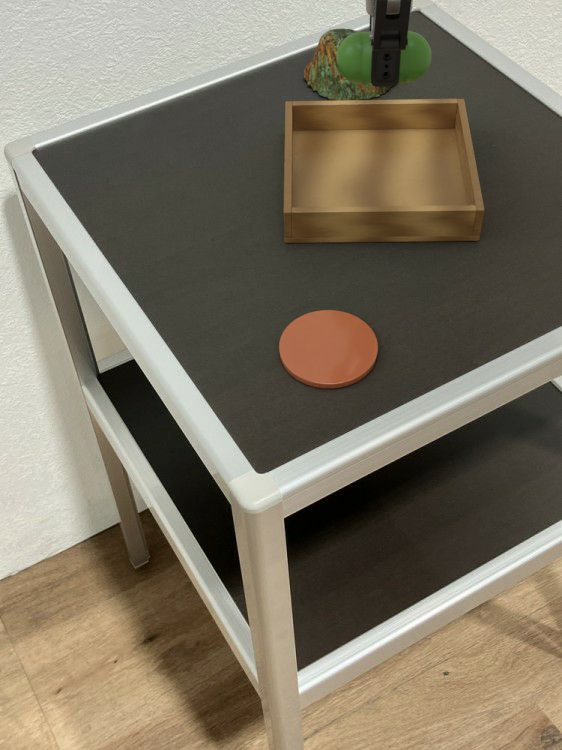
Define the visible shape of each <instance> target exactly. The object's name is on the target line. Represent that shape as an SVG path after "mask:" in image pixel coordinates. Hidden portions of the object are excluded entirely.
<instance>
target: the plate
mask: <svg viewBox="0 0 562 750" xmlns="http://www.w3.org/2000/svg"><path fill="white" fill-rule="evenodd" d="M278 344H279V345H278V355H279V359H280V362H281V364H282V366H283V367H284V370H286V372H287V373H288V374H289V375H290V376H291V377H292V378H294V379H295V380H296V381H298V382H300V383H302V384H304V385H307V386H309V387H313V388H318V389H329V390H330V389H331V390H332V389H339V388H344V387H348V386H351V385H353V384H356V383H357V382H359V381H361V380H362V379H364V378H365V377H366V376H367V375H369V374H370V373H371V371H372V369H373V368H374V366H375V365H376V363H377V360H378V354H379V343H378V339H377V336H376V333H375V332H374V330H372V327H370V325H369V324H367V322H365V321H364V320H362V319H361V318H359V317H358V316H356V315H354V314H352V313H349V312H345V311H341V310H335V309H320V310H314V311H310V312H308V313H305V314H303V315H300V316H298V317H297V318H295V319H293V321H292V322H290V323H288V325H287V326H286V327H285V329H284V330H283V331H282V334H281V336H280V337H279V342H278Z"/></svg>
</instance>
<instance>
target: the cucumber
mask: <svg viewBox="0 0 562 750" xmlns="http://www.w3.org/2000/svg"><path fill="white" fill-rule="evenodd" d="M370 34H371V32H369V31H357V32H356V33H353V34H351V35H349V36H347V37H346V38H345V39H344V40H343V41H342V43H341V44H340V46H339V48H338V51H337V57H336V60H337V66H338V69H339V71H340V73H341V74H342V75H343V77H345V78H346V79H347V80H348V81H350V82H353V83H356V84H372V83H371V59H372V46H371V41H370ZM407 38H408V45H406V50H401V59H400V74H399V83H398V84H411V83H414V82H416V81H418V80H420V79H421V78H423V77H424V75H425V74H426V73H427V71H428V70H429V68H430V66H431V63H432V50H431V46H430V45H429V43H428V41H427V40H426V38H425V37H424V36H423V35H421V34H420V33H417V32H414V31H412V30H408V34H407Z"/></svg>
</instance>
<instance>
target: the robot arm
mask: <svg viewBox="0 0 562 750" xmlns="http://www.w3.org/2000/svg"><path fill="white" fill-rule="evenodd" d="M413 4H414V3H413V0H365V10H366V13H367V14H368V15H369V24H368V25H369V27H368V29H369V30H368V32H371V34H370V41H371V46H372V59H371V83H372V85H373V86H375V87H391V88H392V86H393V87H396V86H397V85H399V84H400V83H399V74H400V59H401V50H406V45H408V38H407V34H408V31H409V24H410V17H411V13H412V11H413Z"/></svg>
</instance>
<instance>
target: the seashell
mask: <svg viewBox="0 0 562 750" xmlns="http://www.w3.org/2000/svg"><path fill="white" fill-rule="evenodd" d="M356 32H358V31H357V30H355V29H351V28H334V29H333V28H332V29H329V30H328V31H325V32H324V33H323V34H322V35H321V36H320V38H319V39H318V42H317V43H318V44H317V47H316V49H315V52H314V54H313V56H312V58H311V60H309V62H308V63H307V64H306V66H305V67H304V70H303V79H304V80H305V81H306V82H307V86H309V87H311V88H312V91H316V92H317V93H318V95H319V96H321V97H324V98H327V99H328V101H340V100H372V98H378V97H380V96H381V95H384V94H386V93H387V92H388V91H389V90H391V88H392V87H394V86H392V87H375V86H373V85H372V84H356V83H353V82H350V81H348V80H347V79H346V78H345V77H343V75H342V74H341V73H340V71H339V69H338V66H337V60H336V57H337V51H338V48H339V46H340V44H341V43H342V41H343V40H344V39H345V38H346V37H347V36H349V35H351V34H353V33H356Z"/></svg>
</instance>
